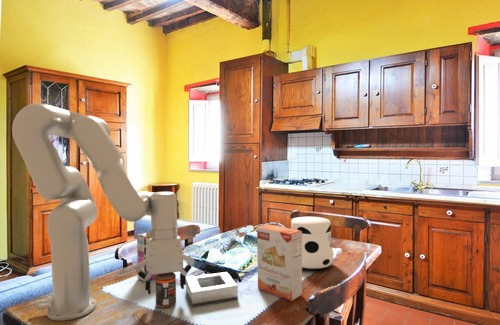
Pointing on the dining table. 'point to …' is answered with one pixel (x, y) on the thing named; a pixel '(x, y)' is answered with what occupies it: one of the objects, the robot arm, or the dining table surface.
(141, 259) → the candy bar box
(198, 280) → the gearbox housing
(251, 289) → the dining table surface
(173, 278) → the supplement bottle
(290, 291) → the cracker box
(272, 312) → the dining table surface
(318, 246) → the milk container
